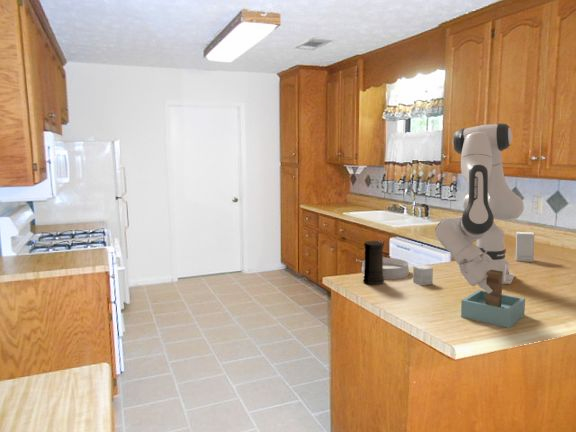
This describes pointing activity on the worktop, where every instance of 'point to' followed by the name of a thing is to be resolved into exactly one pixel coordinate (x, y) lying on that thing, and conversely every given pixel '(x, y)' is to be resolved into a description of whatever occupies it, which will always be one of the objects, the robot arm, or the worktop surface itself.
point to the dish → (392, 268)
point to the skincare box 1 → (423, 275)
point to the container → (373, 263)
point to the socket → (493, 309)
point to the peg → (494, 288)
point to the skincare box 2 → (525, 246)
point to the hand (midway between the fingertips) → (496, 289)
